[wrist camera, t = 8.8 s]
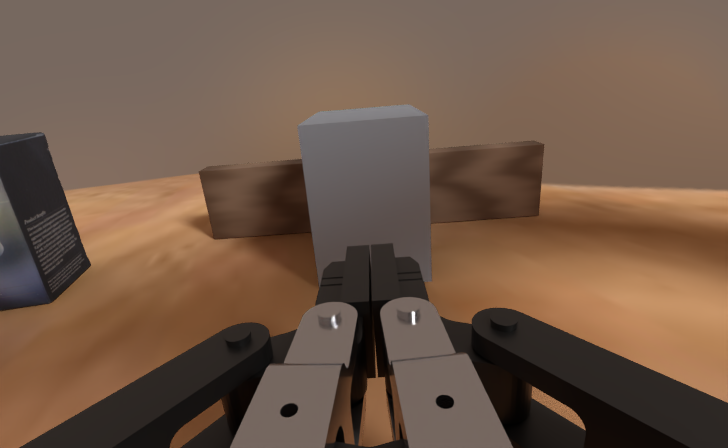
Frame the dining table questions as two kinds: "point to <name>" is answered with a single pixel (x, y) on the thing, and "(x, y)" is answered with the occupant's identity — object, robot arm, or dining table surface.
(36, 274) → the small box
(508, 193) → the walnut board
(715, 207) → the dining table surface
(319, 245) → the slate block
